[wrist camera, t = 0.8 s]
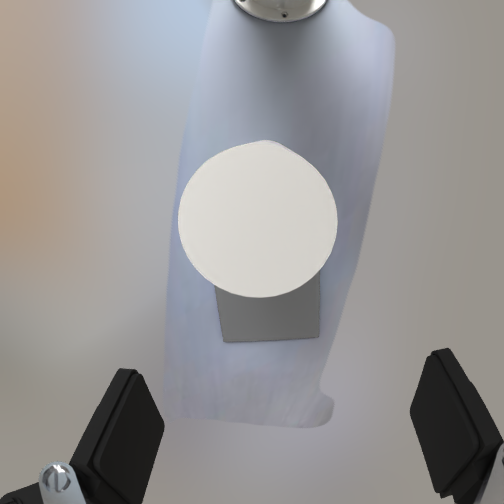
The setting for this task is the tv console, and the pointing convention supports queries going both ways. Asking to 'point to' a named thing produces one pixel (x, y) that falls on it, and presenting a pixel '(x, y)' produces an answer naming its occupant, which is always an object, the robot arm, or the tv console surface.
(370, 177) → the tv console surface
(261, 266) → the cylindrical container
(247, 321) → the rubber mat
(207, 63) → the tv console surface
